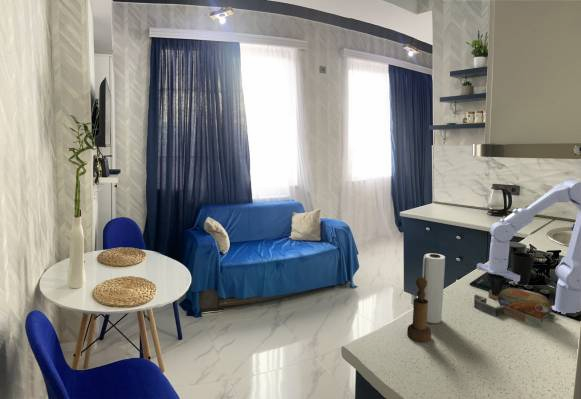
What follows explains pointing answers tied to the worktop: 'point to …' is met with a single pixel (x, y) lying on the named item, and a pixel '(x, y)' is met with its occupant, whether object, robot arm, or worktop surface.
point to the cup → (522, 266)
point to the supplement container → (515, 250)
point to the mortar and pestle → (420, 315)
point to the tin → (525, 302)
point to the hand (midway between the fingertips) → (495, 294)
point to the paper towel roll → (434, 285)
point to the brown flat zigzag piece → (508, 311)
